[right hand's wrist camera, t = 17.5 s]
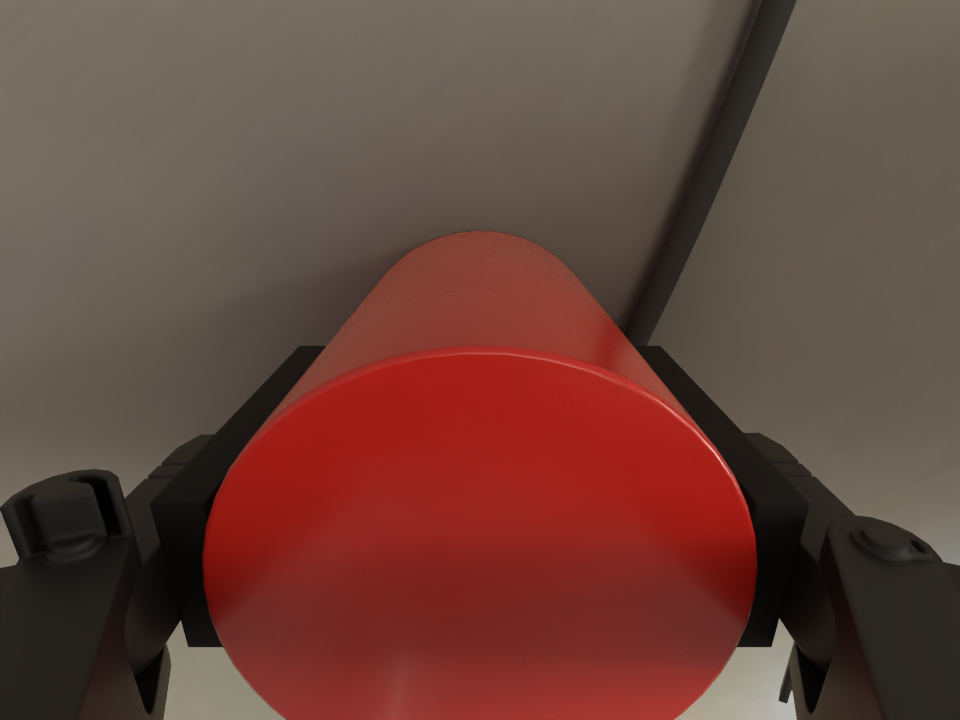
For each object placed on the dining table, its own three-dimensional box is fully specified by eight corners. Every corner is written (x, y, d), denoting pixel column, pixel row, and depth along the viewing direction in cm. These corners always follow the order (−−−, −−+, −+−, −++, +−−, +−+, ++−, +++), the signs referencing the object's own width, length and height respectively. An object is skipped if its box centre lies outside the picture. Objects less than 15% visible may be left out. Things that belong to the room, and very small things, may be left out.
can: (317, 379, 17) (113, 657, 8) (446, 176, 15) (386, 209, 5) (506, 492, 19) (534, 839, 9) (649, 323, 17) (883, 552, 7)
